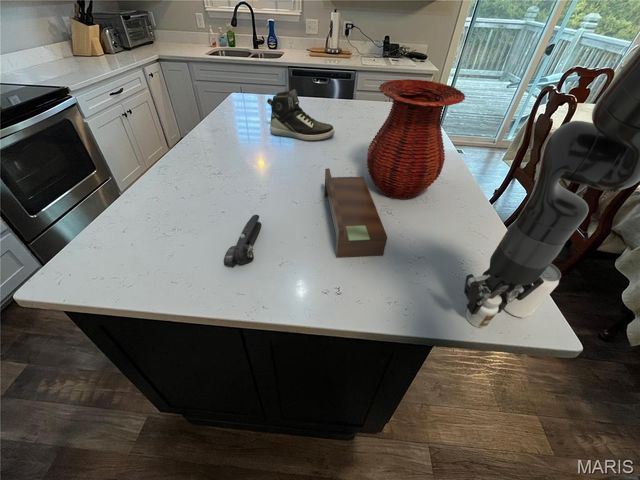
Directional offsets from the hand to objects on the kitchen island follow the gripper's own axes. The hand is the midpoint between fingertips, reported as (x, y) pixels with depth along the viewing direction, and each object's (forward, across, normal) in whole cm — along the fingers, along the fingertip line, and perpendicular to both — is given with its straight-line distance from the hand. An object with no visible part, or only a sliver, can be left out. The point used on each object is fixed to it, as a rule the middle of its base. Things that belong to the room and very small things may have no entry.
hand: (483, 309), depth 59 cm
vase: (+4, -2, +50) cm, 51 cm away
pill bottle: (+4, 0, 0) cm, 4 cm away
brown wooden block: (+3, -21, +34) cm, 40 cm away
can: (+4, +10, +2) cm, 11 cm away
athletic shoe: (+4, -32, +92) cm, 98 cm away
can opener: (+4, -49, +26) cm, 55 cm away
